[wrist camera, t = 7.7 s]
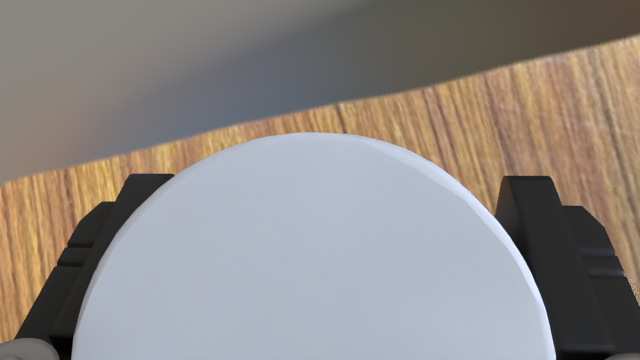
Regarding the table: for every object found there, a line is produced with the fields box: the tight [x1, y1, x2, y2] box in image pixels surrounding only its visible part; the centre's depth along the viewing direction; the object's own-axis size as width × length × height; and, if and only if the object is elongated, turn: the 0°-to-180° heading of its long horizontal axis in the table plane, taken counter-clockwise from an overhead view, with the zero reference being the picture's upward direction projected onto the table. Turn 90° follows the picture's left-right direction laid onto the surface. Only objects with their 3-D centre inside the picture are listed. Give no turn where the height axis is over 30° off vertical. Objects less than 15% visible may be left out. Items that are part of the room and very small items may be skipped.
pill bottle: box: [71, 132, 556, 360], centre depth 11 cm, size 6×6×10 cm
